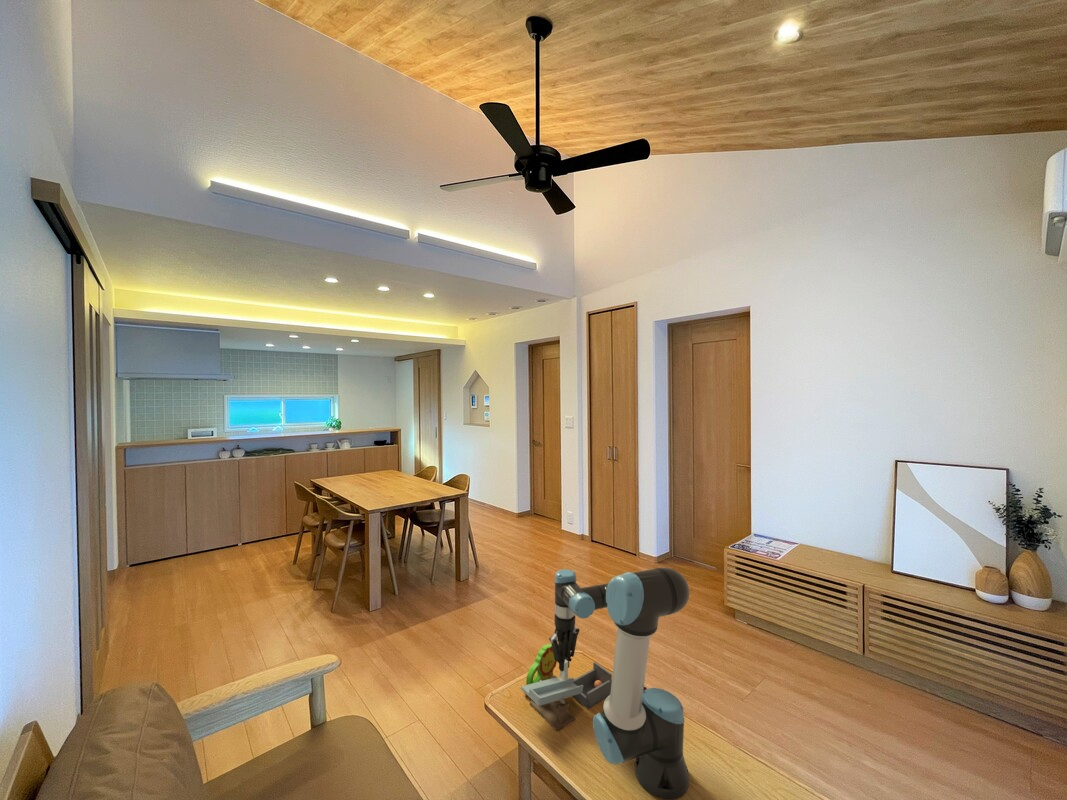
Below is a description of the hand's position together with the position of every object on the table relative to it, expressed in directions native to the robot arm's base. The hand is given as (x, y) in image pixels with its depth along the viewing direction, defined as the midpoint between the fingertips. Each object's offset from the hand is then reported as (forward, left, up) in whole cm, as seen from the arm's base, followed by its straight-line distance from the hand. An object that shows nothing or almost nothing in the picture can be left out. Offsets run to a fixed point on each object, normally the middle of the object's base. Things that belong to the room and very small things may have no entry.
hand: (563, 677), depth 158 cm
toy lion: (+9, +3, -8) cm, 12 cm away
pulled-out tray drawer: (-5, -9, -7) cm, 13 cm away
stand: (-3, +8, -7) cm, 11 cm away
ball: (-5, -13, -5) cm, 15 cm away
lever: (-3, +8, -1) cm, 9 cm away
